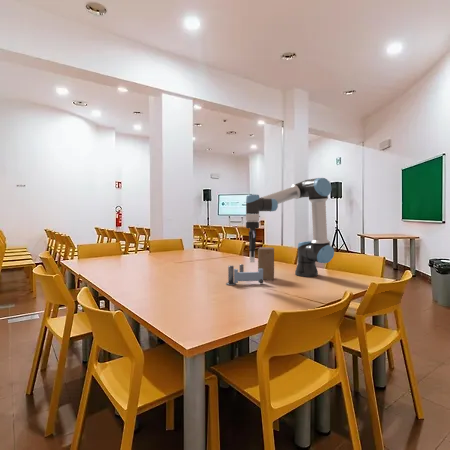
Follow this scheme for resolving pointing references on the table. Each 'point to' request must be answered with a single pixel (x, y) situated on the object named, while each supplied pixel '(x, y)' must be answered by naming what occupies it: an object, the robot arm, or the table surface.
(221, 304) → the table surface
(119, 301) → the table surface
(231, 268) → the gate posts
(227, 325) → the table surface
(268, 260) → the wooden block
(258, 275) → the grey i-beam block
